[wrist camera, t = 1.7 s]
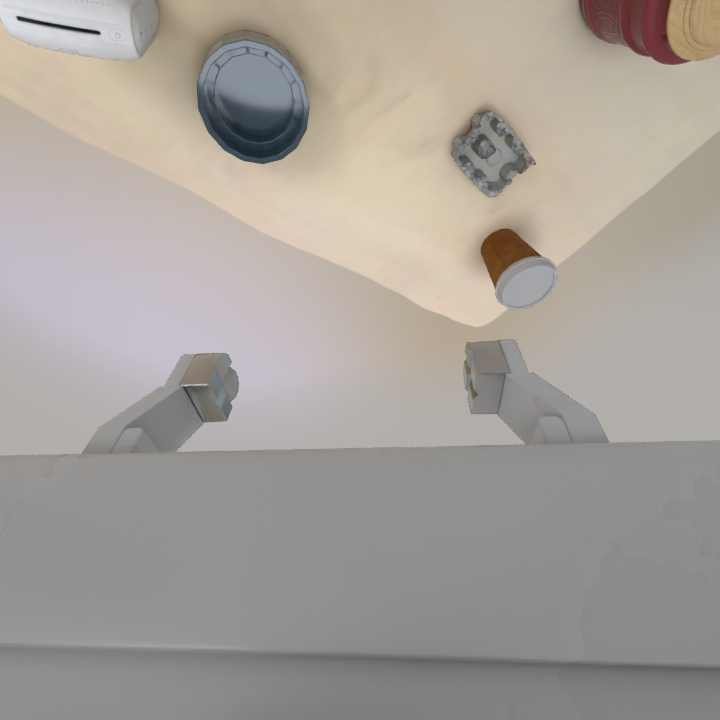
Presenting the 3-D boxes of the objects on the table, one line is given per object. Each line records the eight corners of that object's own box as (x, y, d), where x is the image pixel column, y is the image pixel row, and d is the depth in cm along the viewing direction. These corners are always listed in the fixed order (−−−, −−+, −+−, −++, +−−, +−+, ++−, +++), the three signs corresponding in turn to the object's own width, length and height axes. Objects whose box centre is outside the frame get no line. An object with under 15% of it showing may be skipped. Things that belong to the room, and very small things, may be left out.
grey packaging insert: (526, 152, 57) (540, 164, 55) (484, 193, 61) (495, 206, 58) (486, 98, 51) (499, 109, 48) (442, 147, 55) (451, 160, 52)
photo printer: (156, -16, 38) (130, 6, 30) (164, 40, 41) (142, 73, 33) (31, -42, 36) (-33, -26, 28) (50, 19, 39) (-4, 49, 31)
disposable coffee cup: (529, 252, 71) (562, 294, 63) (478, 276, 73) (504, 320, 66) (521, 209, 64) (557, 251, 56) (465, 237, 66) (493, 282, 59)
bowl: (198, 16, 40) (193, 26, 37) (311, 45, 44) (315, 56, 41) (204, 137, 49) (200, 154, 45) (298, 153, 52) (301, 170, 49)
